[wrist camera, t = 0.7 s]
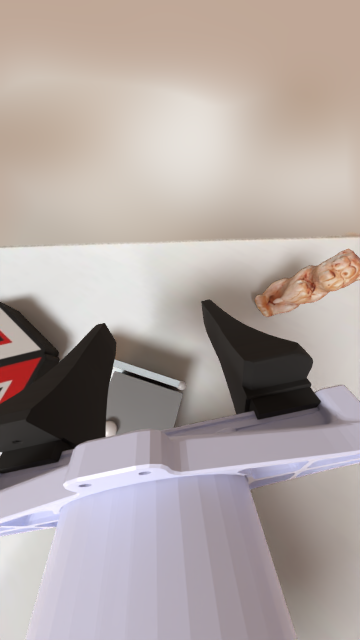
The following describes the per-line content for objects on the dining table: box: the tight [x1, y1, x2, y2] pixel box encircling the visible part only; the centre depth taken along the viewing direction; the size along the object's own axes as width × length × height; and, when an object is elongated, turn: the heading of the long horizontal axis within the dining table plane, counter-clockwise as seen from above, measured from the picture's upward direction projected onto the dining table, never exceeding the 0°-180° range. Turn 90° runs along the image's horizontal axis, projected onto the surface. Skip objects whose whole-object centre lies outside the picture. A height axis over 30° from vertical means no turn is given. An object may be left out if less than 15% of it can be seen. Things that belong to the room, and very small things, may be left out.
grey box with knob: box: [106, 371, 183, 437], centre depth 22 cm, size 9×9×6 cm
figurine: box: [255, 249, 360, 317], centre depth 26 cm, size 6×8×15 cm
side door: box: [113, 360, 186, 390], centre depth 24 cm, size 1×14×5 cm, turn 74°
